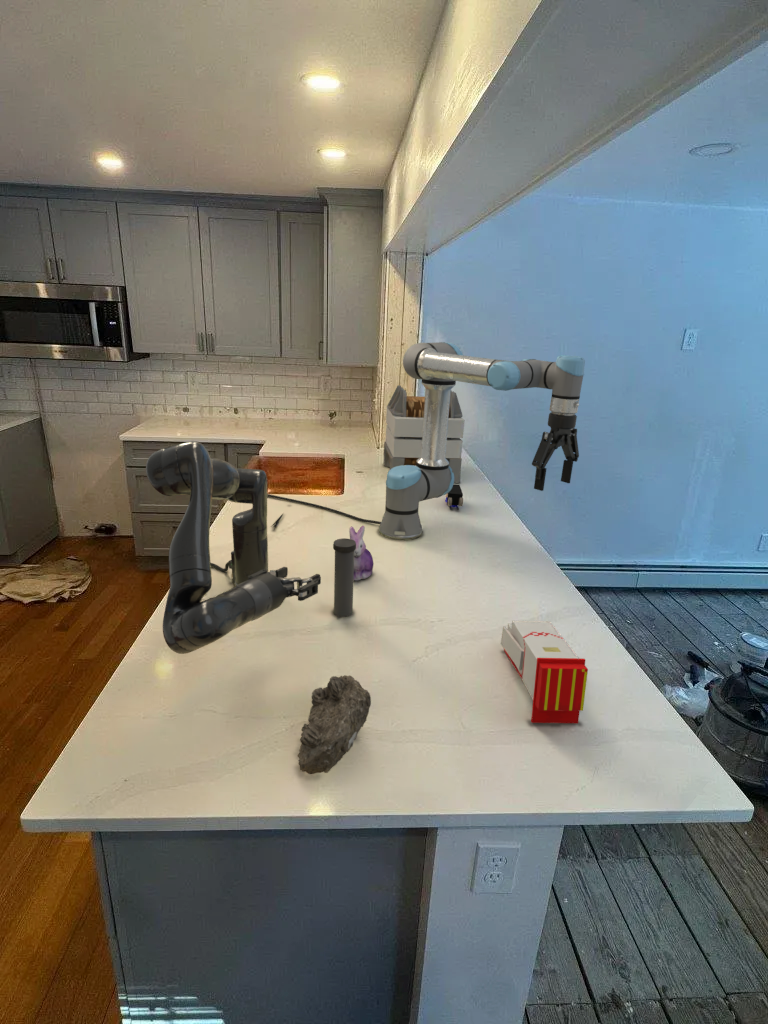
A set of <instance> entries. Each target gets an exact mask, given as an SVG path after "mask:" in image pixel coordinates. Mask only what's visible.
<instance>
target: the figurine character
mask: <svg viewBox="0 0 768 1024" xmlns="http://www.w3.org/2000/svg"><path fill="white" fill-rule="evenodd" d="M463 496H464V493H463V490H462V488H461V485H460V484H457V483H454V484H453V487H452V489H451V490H450V491H449V492H448V493H447V494H445V499H444V502H445V503H446V505H447V506H448V507H449V510H450V511H452V510H453V509H452V508H456V510H457V511H459V510H460V508H459V507H463V505H464V498H463Z"/></svg>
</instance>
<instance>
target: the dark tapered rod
mask: <svg viewBox="0 0 768 1024" xmlns="http://www.w3.org/2000/svg"><path fill="white" fill-rule="evenodd" d="M283 515H284V513H282V514H281V515H280V516H279V517H278V518H277V520H275V522H273V523H272V525H271V526H270V527H273V530H275V529H276V528H277V526H278V525H279V522H280V520H281V519H282V517H283Z"/></svg>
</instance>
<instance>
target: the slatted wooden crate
mask: <svg viewBox="0 0 768 1024" xmlns="http://www.w3.org/2000/svg"><path fill="white" fill-rule="evenodd" d="M407 394H408V393H407V390H406V389H404V388H403V387H402V385H399V384H398V385H397V386H396V388H395V390H394V392H393V394H392V395H391V398H390V400H389V402H388V404H387V405H386V413H385V414H386V415H385V423H386V428H385V438H384V442H383V466H384V467H388V468H389V470H390V469H392V468H394V467H396V466H401V465H404V466H405V465H413V466H416V461H417V459H418V458H420V457H421V449H422V434H423V419H424V404H425V396H415V395H414V396H413V395H412V396H411V395H407ZM464 429H465V419H464V418H463V411H462V408H461V405H460V402H459V398H458V395H457V392H455V391H453V390H451V392H450V404H449V416H448V428H447V441H446V453H445V458H446V459H447V461H448V462H449V466H450V467H451V469H452V473H454V484H459V483H461V472H462V461H463V460H462V453H463V442H464V441H463V440H462V439H463V438H464V431H465V430H464Z"/></svg>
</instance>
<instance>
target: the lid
mask: <svg viewBox="0 0 768 1024" xmlns="http://www.w3.org/2000/svg"><path fill="white" fill-rule="evenodd" d="M332 548H333V550H334V552H335V551H337V552H340V553H350V552H353V551H355V549H356V542H355V541H354V540H352V539H350V538H337V539H335V540H334V541H333V544H332Z"/></svg>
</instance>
